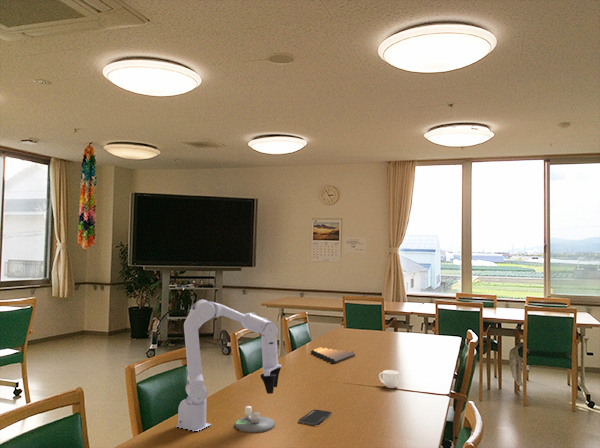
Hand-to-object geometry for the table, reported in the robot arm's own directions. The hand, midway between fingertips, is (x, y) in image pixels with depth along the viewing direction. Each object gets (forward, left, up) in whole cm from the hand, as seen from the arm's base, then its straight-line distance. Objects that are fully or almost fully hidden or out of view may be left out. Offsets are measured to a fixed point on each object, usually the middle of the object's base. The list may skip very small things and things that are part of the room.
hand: (272, 390), depth 187 cm
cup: (+23, +66, -11) cm, 70 cm away
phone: (+14, +9, -11) cm, 20 cm away
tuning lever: (-3, -8, -9) cm, 13 cm away
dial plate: (-1, -9, -10) cm, 14 cm away
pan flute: (-29, +108, -11) cm, 112 cm away
